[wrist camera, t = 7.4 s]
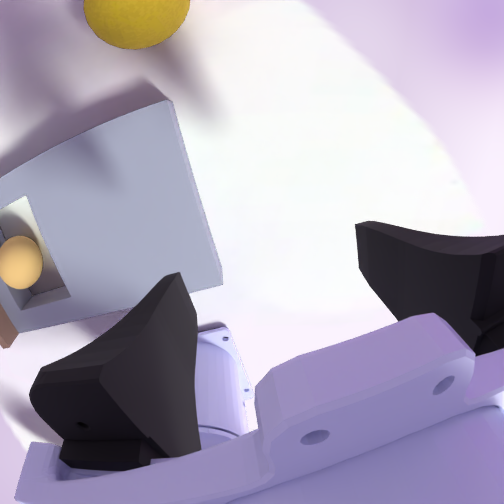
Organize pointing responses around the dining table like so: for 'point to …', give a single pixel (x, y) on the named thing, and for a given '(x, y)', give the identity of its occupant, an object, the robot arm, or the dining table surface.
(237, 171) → the dining table surface
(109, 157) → the grey piece
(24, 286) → the ball
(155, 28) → the lemon
